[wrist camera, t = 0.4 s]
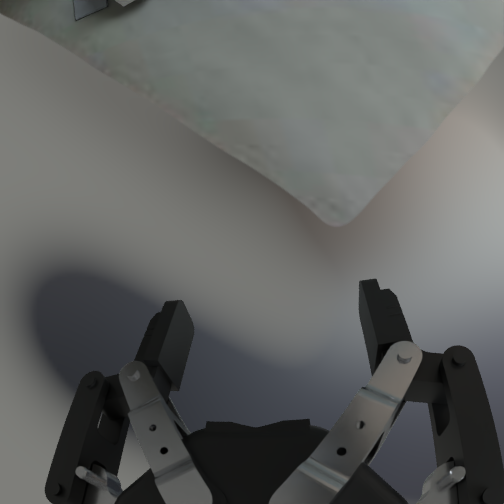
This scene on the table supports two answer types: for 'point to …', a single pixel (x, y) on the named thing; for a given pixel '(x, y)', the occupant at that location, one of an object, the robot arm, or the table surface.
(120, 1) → the die
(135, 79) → the table surface
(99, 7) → the pad
